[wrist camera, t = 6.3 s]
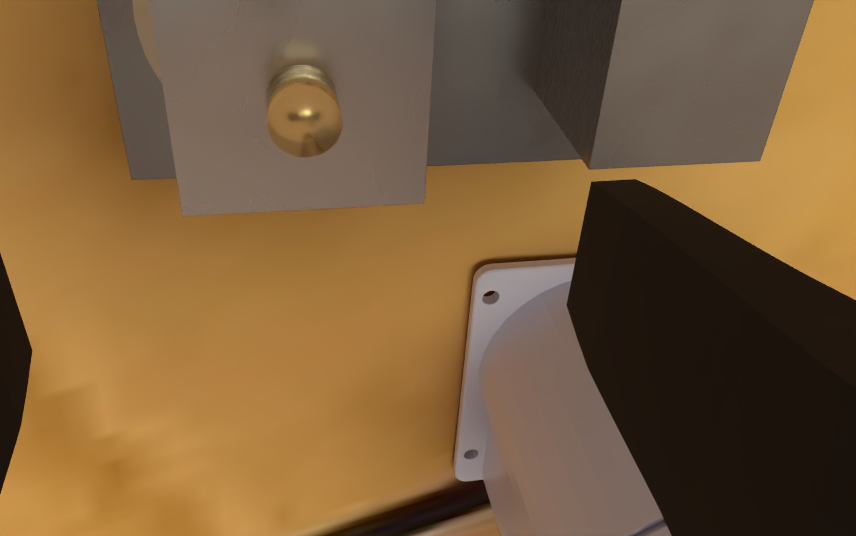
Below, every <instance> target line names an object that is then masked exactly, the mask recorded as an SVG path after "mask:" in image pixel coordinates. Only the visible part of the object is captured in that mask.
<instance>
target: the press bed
mask: <svg viewBox="0 0 856 536" xmlns="http://www.w3.org/2000/svg"><path fill="white" fill-rule="evenodd" d="M813 2H814V0H436V12H435V29H434V46H433V63H432V80H431V97H430V114H429V131H428V147H427V164H426V166H444V165H466V164H487V163H509V162H531V161H552V160H574V159H582V160H583V162H584V163H585V164H586V166H587V167H588V169H609V168H630V167H650V166H671V165H691V164H712V163H732V162H753V161H760V159H761V156H762V153H763V150H764V148H765V145H766V142H767V139H768V136H769V133H770V130H771V127H772V124H773V121H774V118H775V115H776V112H777V109H778V106H779V103H780V100H781V97H782V94H783V91H784V88H785V85H786V82H787V79H788V76H789V73H790V70H791V67H792V64H793V61H794V58H795V55H796V52H797V49H798V47H799V44H800V41H801V38H802V35H803V32H804V29H805V26H806V23H807V20H808V17H809V14H810V11H811V8H812V5H813ZM97 4H98V9H99V14H100V19H101V24H102V30H103V35H104V40H105V45H106V50H107V56H108V61H109V66H110V71H111V76H112V81H113V87H114V92H115V97H116V102H117V107H118V112H119V118H120V123H121V128H122V133H123V138H124V143H125V149H126V154H127V159H128V164H129V169H130V174H131V180H142V179H164V178H177V177H176V171H175V164H174V158H173V151H172V144H171V138H170V131H169V125H168V118H167V112H166V105H165V99H164V92H163V85H162V79H161V72H160V66H159V59H158V53H157V46H156V40H155V33H154V26H153V20H152V13H151V7H150V0H97Z"/></svg>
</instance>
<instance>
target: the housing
mask: <svg viewBox="0 0 856 536" xmlns="http://www.w3.org/2000/svg"><path fill="white" fill-rule="evenodd" d="M150 7H151V13H152V20H153V26H154V33H155V40H156V46H157V53H158V59H159V66H160V72H161V79H162V85H163V92H164V99H165V105H166V112H167V118H168V125H169V131H170V138H171V144H172V151H173V158H174V164H175V171H176V177H177V184H178V190H179V197H180V203H181V210H182V216H199V215H217V214H236V213H255V212H274V211H293V210H311V209H330V208H349V207H368V206H387V205H406V204H424V198H425V181H426V164H427V147H428V131H429V114H430V97H431V80H432V63H433V46H434V29H435V12H436V0H150Z"/></svg>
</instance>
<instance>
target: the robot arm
mask: <svg viewBox="0 0 856 536" xmlns="http://www.w3.org/2000/svg"><path fill="white" fill-rule="evenodd" d="M488 291H495V293H493V294H492V295H490V296H487V297H486V296H483V295H484V294H485V293H486V292H488ZM31 356H32V348H31V345H30V342H29V339H28V336H27V333H26V330H25V327H24V324H23V321H22V318H21V315H20V312H19V309H18V306H17V303H16V300H15V297H14V293H13V290H12V287H11V284H10V281H9V278H8V275H7V272H6V269H5V266H4V263H3V260H2V257H1V254H0V493H1V490H2V487H3V483H4V480H5V477H6V474H7V470H8V467H9V464H10V460H11V457H12V454H13V451H14V447H15V444H16V441H17V437H18V434H19V430H20V427H21V422H22V416H23V410H24V404H25V398H26V392H27V385H28V378H29V370H30V363H31ZM471 449H472V450H471ZM468 450H469V451H468ZM453 469H454V473H455V477H456V478H457V479H458V480H461V481H474V480H484V483H485V487H486V490H487V493H488V497H489V500H490V503H491V507H492V510H493V513H494V517H495V520H496V523H497V527H498V530H499V533H500V536H856V300H854V299H852V298H850V297H848V296H846V295H844V294H842V293H840V292H838V291H836V290H835V289H833V288H831V287H829V286H827V285H825V284H823V283H821V282H819V281H817V280H815V279H813V278H811V277H809V276H808V275H806V274H804V273H802V272H800V271H798V270H797V269H795V268H793V267H791V266H789V265H788V264H786V263H784V262H782V261H780V260H779V259H777V258H775V257H773V256H771V255H770V254H768V253H766V252H764V251H763V250H761V249H759V248H757V247H756V246H754V245H752V244H751V243H749V242H747V241H745V240H744V239H742V238H740V237H739V236H737V235H735V234H733V233H732V232H730V231H728V230H727V229H725V228H723V227H722V226H720V225H718V224H716V223H715V222H713V221H711V220H710V219H708V218H706V217H705V216H703V215H701V214H699V213H698V212H696V211H694V210H693V209H691V208H689V207H687V206H686V205H684V204H682V203H681V202H679V201H677V200H675V199H673V198H672V197H670V196H668V195H666V194H664V193H663V192H661V191H659V190H657V189H655V188H653V187H651V186H649V185H647V184H645V183H643V182H640V181H638V180H636V179H633V180H615V181H597V182H591V186H590V191H589V196H588V201H587V206H586V211H585V216H584V221H583V226H582V231H581V236H580V241H579V246H578V250H577V255H576V258H566V259H552V260H537V261H523V262H509V263H494V264H488V265H484V266H483V267H481V268H479V269H478V270H477V272H476V273H475V275H474V278H473V286H472V295H471V304H470V314H469V323H468V333H467V342H466V351H465V361H464V370H463V379H462V389H461V398H460V408H459V417H458V426H457V436H456V445H455V454H454V464H453Z"/></svg>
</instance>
